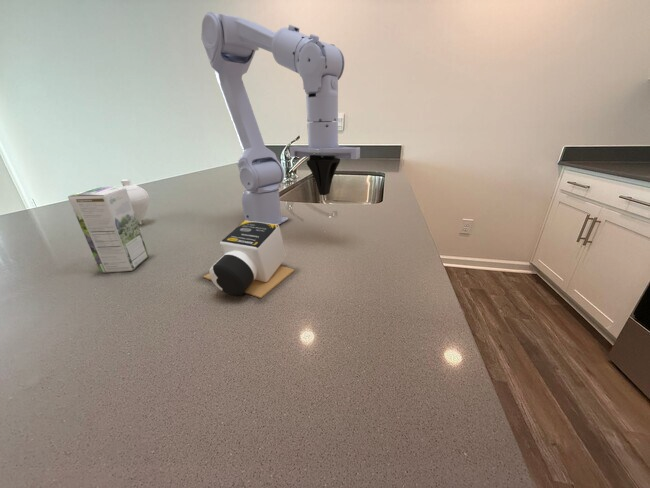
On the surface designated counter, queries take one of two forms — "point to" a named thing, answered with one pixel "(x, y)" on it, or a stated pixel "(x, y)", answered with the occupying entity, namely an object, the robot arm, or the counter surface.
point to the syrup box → (110, 228)
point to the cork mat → (263, 288)
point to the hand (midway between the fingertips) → (324, 193)
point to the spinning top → (137, 199)
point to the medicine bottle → (248, 256)
